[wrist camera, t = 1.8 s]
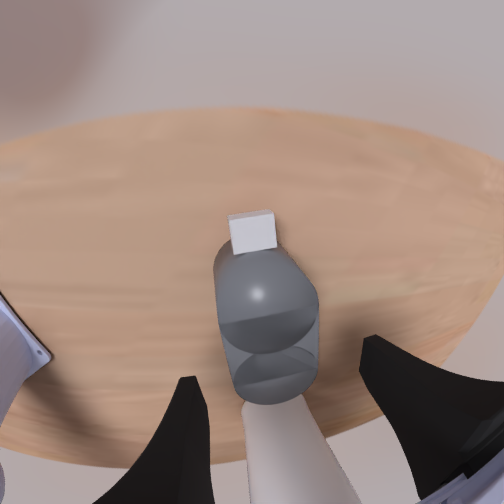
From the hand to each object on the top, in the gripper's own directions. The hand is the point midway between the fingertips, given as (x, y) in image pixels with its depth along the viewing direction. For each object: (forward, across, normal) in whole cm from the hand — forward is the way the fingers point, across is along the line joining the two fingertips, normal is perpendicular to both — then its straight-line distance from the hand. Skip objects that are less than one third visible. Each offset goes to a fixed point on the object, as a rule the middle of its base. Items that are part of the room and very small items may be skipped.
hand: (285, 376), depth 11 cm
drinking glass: (+7, 0, +10) cm, 13 cm away
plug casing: (+7, 0, 0) cm, 7 cm away
